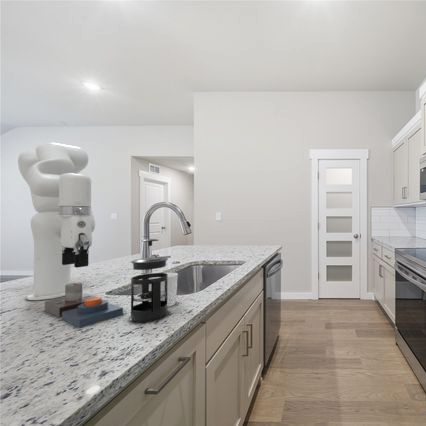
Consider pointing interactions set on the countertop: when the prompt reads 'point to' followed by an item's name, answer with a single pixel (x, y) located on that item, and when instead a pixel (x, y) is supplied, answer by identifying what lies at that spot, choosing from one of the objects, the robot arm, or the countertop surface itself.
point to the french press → (149, 290)
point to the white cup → (170, 288)
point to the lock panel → (64, 305)
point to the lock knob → (73, 291)
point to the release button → (93, 301)
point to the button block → (92, 314)
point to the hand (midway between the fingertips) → (74, 265)
